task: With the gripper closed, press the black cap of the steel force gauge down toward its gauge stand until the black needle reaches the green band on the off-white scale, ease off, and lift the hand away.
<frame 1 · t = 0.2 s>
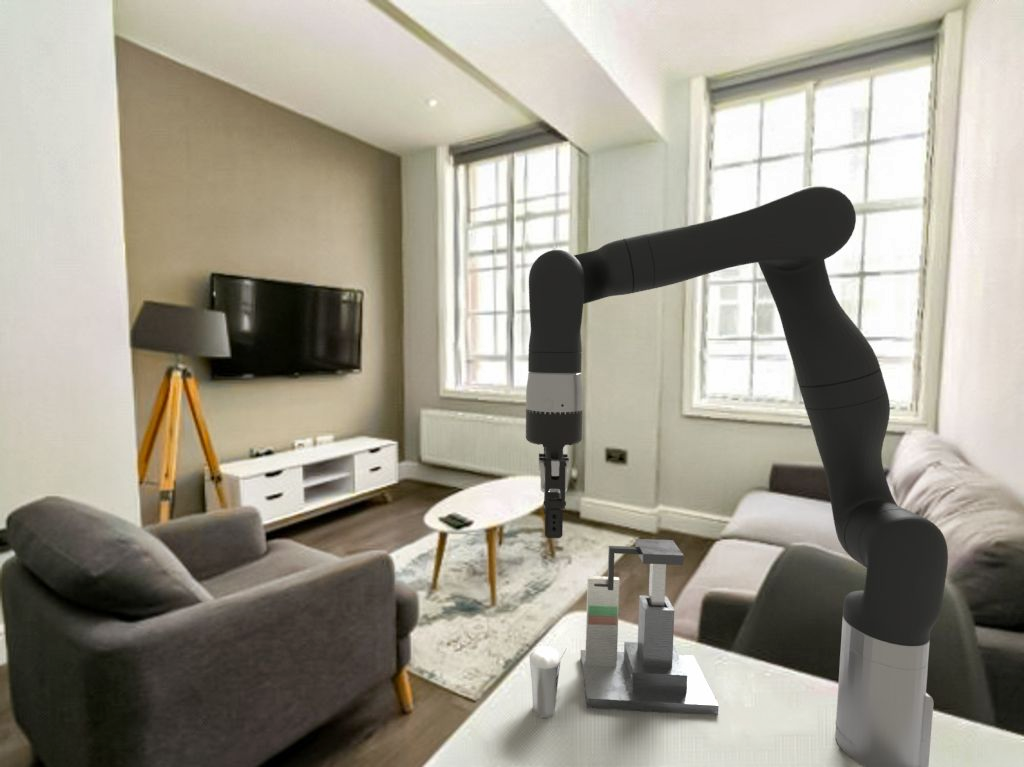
hand: (552, 525, 68), 29 cm above the table, tool pointing down, fingers open, 8 cm apart
milkshake: (546, 711, 74), on the table
gauge stand: (653, 685, 80), on the table
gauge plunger: (642, 581, 79), point 17 cm above the table, slide at 0.0 cm
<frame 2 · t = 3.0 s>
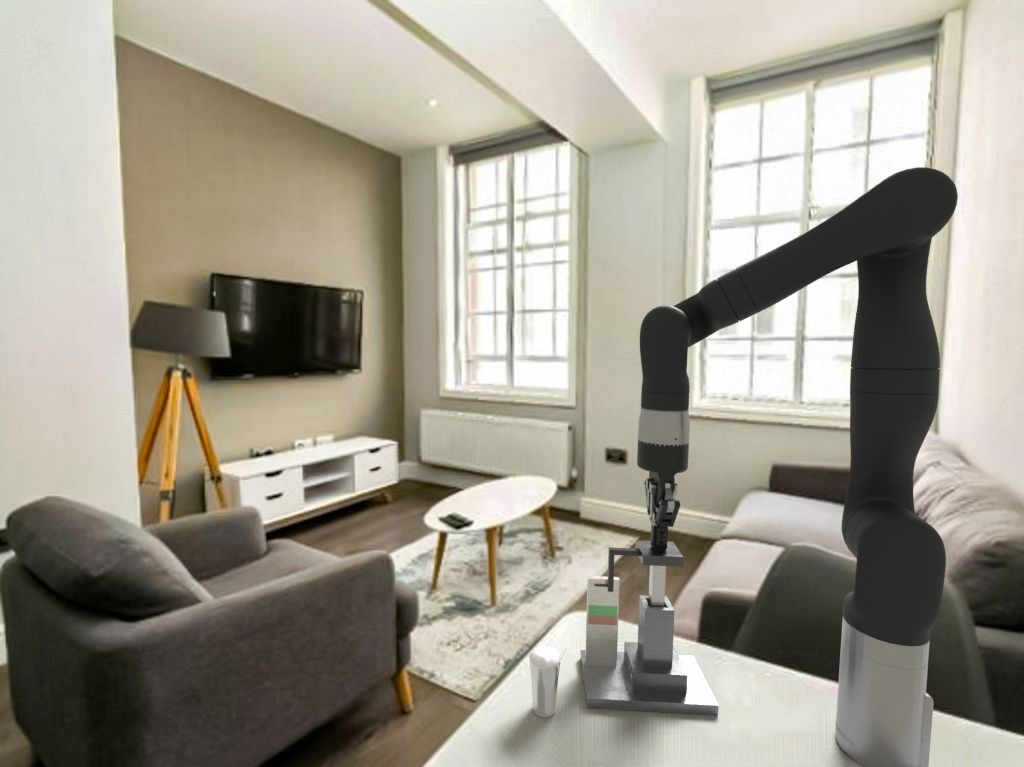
hand: (658, 548, 78), 22 cm above the table, tool pointing down, fingers closed
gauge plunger: (642, 583, 79), point 16 cm above the table, slide at 0.3 cm, touching gripper
everything else where it was.
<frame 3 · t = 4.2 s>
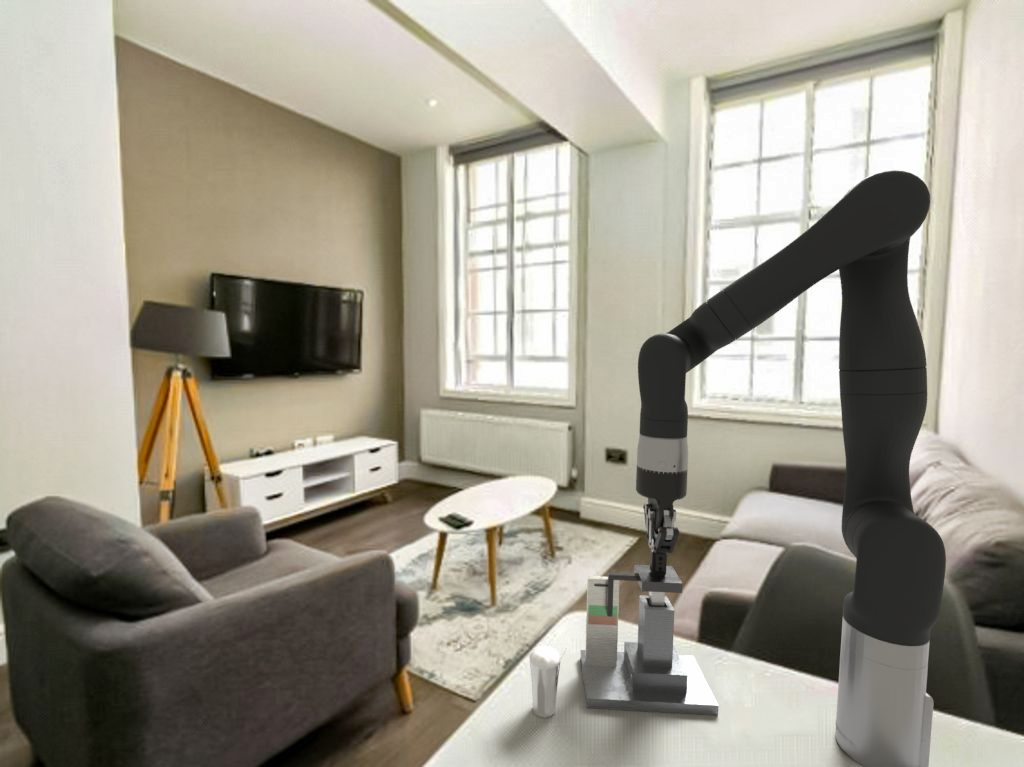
hand: (657, 573, 79), 18 cm above the table, tool pointing down, fingers closed
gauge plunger: (641, 608, 79), point 12 cm above the table, slide at 4.3 cm, touching gripper
everything else where it was.
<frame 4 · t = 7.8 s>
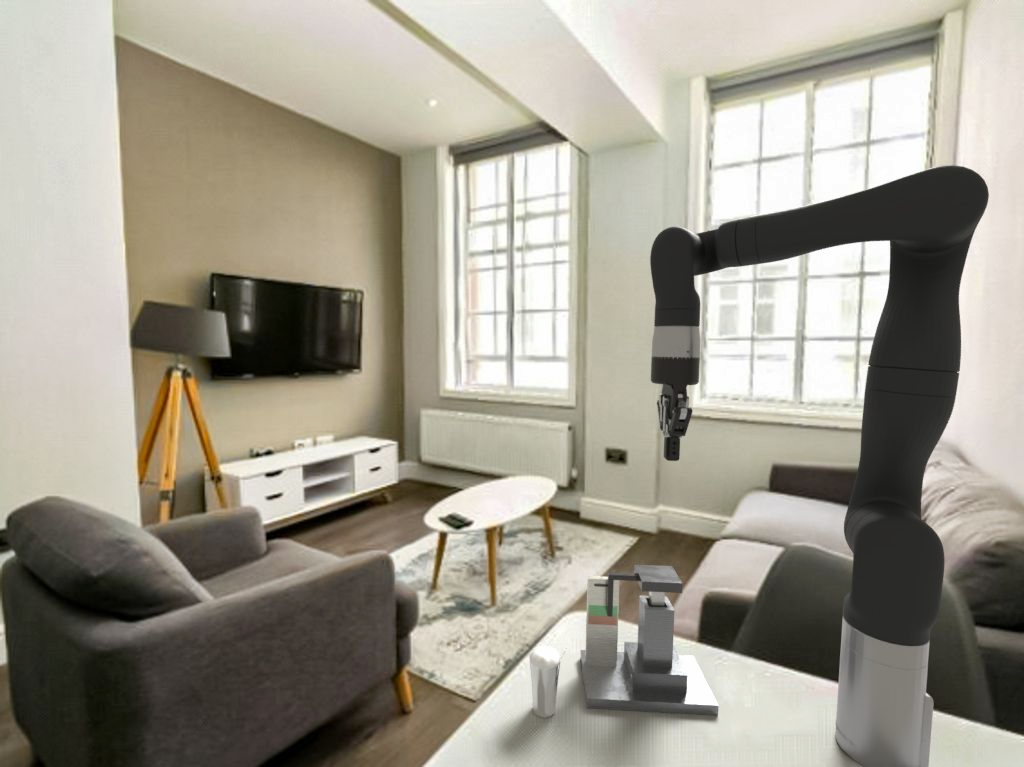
hand: (671, 459, 83), 35 cm above the table, tool pointing down, fingers closed
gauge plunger: (641, 608, 79), point 12 cm above the table, slide at 4.3 cm
everything else where it was.
at the end: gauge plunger slide at 4.3 cm; milkshake moved 0.2 cm from its start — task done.
